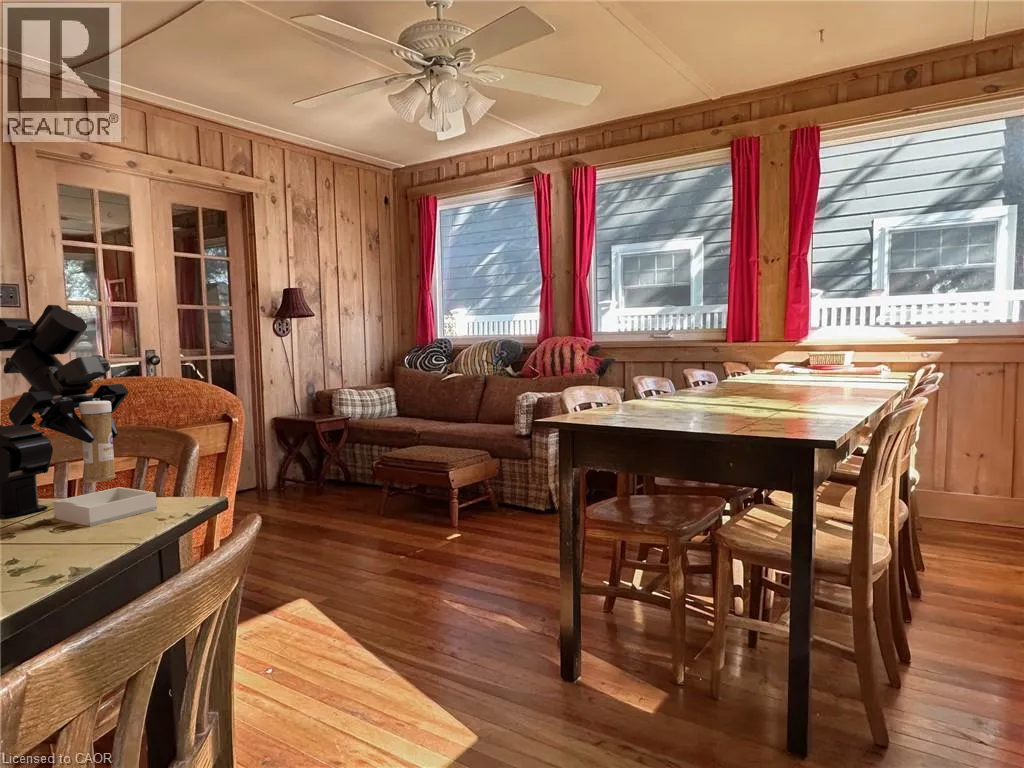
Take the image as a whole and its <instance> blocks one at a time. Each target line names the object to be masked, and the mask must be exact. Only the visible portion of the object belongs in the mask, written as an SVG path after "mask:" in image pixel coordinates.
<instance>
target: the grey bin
mask: <svg viewBox="0 0 1024 768" xmlns="http://www.w3.org/2000/svg"><path fill="white" fill-rule="evenodd" d="M52 503H53V515H54V517H53V518H54V520H59V521H63V522H67V523H68V522H69V523H73V524H77V525H82V526H86V527H93V526H97V525H101V524H105V523H110V522H113V521H117V520H121V519H126V518H128V517H129V518H130V517H132V515H133V516H137V515H140V513H141V514H144V512H145V513H148V512H147V511H149V512H151V510H153V511H155V510H154V509H157V510H158V506H157V505H158V504H157V492H153V491H148V490H141V489H134V488H131V487H130V488H129V487H122V486H118V487H113V488H108V489H105V490H99V491H93V492H90V493H85V494H81V495H76V496H71V497H67V498H62V499H57V500H53V501H52ZM136 514H137V515H136Z"/></svg>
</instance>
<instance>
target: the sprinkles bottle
mask: <svg viewBox="0 0 1024 768" xmlns="http://www.w3.org/2000/svg"><path fill="white" fill-rule="evenodd" d="M78 410H79V411H78V413H79V414H80V419H81V421H82V422H83V423H84V424H85V426H86V427H87V428H88V430H89V431H90V432H91V434H92V435H93V437H94V440H93V442H92V443H87V442H85V441H82V440H81V442H82V456H83V457H82V460H83V464H84V481H85V482H86V483H102V482H107V481H111V480H113V479H115V478H116V476H117V475H116V473H115V464H114V463H115V461H114V459H115V455H114V454H115V453H114V443H113V442H114V441H113V438H112V429H111V415H112V413H110V412H111V411H112V409H111V402H110V401H88V402H82V403H80V404H79V409H78Z"/></svg>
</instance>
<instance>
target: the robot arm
mask: <svg viewBox="0 0 1024 768" xmlns="http://www.w3.org/2000/svg"><path fill="white" fill-rule="evenodd" d="M87 328H88V324H87V323H86V321H85V320H84V319H83V318H82V317H80V316H78V315H76V314H75V313H73V312H70V311H69V310H67V309H63V308H62V306H60V305H59V304H48V305H47V306H46V307H45V308H44V310H43V312H42V314H41V316H39V318H38V319H37V321H36V322H35V323H34V322H33V321H31V319H30V318H21V317H20V318H19V317H0V352H14V353H13V354H12V355H11V356H10V357H5V365H4V366H3V374H5V375H6V374H21V376H23V378H24V380H26V381H27V382H28V384H29V385H30V387H29V389H28V390H27V391H24V392H23V393H22V394H21V395H20V397H19V398H18V399H17V401H16V402H15V403H14V405H13V406H12V407H11V409H10V410H9V412H8V419H9V420H10V421H11V423H12V424H11V425H4V426H3V425H2V424H0V517H1V518H3V519H4V518H5V519H7V518H12V517H17V516H21V515H26V514H30V513H34V512H39V511H44V510H47V509H48V505H43V504H40V503H39V498H38V497H39V496H38V495H39V494H38V485H37V483H38V482H37V475H41V474H46V473H47V474H48V472H49V469H50V464H51V460H52V457H53V451H54V450H53V449H54V448H53V445H52V442H51V440H50V439H49V438H48V437H47V436H45V435H44V433H45V431H43V430H38V429H36V428H34V427H32V426H33V425H34V424H35V422H36V421H37V420H36V418H35V416H34V414H36V413H37V414H39V415H40V416H39V417H40V418H41V421H40V422H39V423H38V427H39V428H42V429H44V428H46V429H48V430H52V431H55V432H57V433H61V434H64V435H65V436H70V437H72V438H74V439H77V440H80V441H81V442H82V441H85V442H87V443H92V442H93V440H94V437H93V435H92V434H91V432H90V431H89V430H88V428H87V427H86V426H85V424H84V423H83V422H82V421H81V417H79V416H78V414H77V413H76V410H79V404H80V403H82V402H88V401H110V402H111V409H112V411H111V412H110V413H111V429H112V438H113V439H114V440H115V439H116V438H117V436H118V431H117V427H116V424H115V421H114V419H113V415H112V414H113V413H115V411H116V409H118V407H119V406H120V405H121V404H122V402H123V401H124V400H125V398H127V396H128V395H129V394H130V392H129V389H127V388H126V386H125V385H124V384H122V383H112V384H111V383H110V384H101V385H99V386H98V387H97V389H96V390H95V392H94V393H93V392H91V393H88V392H87V391H88V390H91V389H92V387H93V386H94V384H93V382H92V381H94V380H96V379H98V378H100V377H103V376H106V375H107V373H108V372H109V371H110V370H111V365H110V362H109V361H108V360H107V359H106V358H105V357H103V355H100V354H99V355H94V354H93V355H92V356H80V357H76V358H73V359H72V360H70V361H68V362H66V363H65V364H63V363H62V362H61V361H60V360H59V358H58V356H56V355H65V354H68V353H69V352H70V351H71V349H72V348H73V347H74V345H76V343H77V342H78V341H79V340H80V339H81V337H82V336H83V334H84V333H85V332H86V331H87Z"/></svg>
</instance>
